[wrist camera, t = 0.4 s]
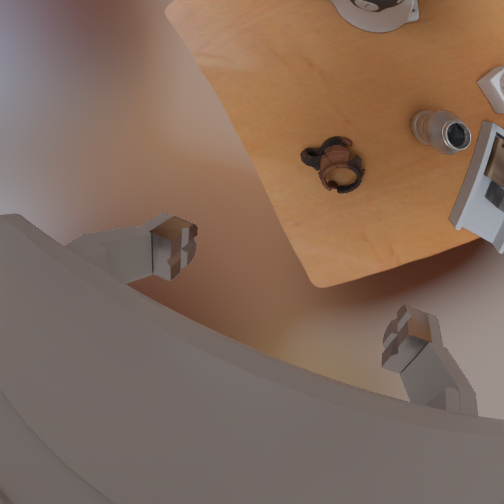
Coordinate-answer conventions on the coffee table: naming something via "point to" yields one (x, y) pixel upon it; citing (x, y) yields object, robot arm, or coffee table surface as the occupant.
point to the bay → (480, 194)
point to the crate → (496, 174)
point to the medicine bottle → (494, 88)
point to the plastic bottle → (441, 131)
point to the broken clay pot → (333, 162)
